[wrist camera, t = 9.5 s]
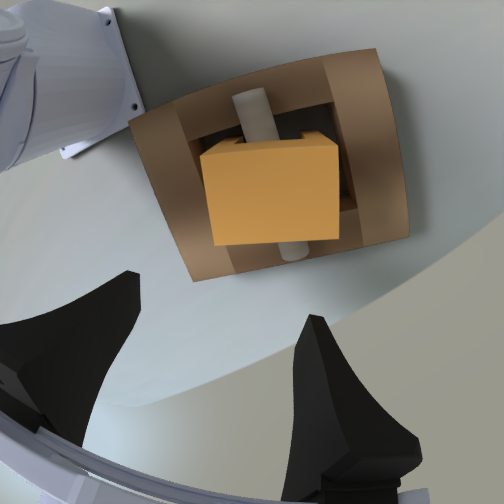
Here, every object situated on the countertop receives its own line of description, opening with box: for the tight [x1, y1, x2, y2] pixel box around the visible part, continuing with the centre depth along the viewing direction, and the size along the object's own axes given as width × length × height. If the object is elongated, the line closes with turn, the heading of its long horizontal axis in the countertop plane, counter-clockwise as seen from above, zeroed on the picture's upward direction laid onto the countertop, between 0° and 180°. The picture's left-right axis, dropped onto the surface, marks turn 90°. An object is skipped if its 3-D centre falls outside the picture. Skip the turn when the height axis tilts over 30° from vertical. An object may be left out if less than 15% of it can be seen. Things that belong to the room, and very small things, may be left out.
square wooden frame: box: [127, 48, 410, 282], centre depth 16 cm, size 11×14×5 cm
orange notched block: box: [200, 131, 339, 246], centre depth 15 cm, size 4×5×6 cm
